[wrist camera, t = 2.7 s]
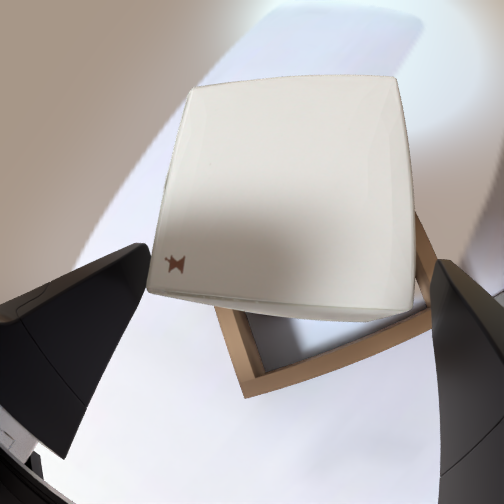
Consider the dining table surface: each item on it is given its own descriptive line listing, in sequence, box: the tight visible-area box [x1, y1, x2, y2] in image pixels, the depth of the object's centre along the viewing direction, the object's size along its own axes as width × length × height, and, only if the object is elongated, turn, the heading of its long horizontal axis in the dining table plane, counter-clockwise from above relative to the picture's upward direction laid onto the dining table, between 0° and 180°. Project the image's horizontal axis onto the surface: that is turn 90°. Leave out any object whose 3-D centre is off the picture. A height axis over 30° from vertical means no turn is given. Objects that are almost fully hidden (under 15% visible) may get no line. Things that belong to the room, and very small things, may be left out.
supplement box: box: [146, 75, 416, 322], centre depth 14 cm, size 7×7×13 cm
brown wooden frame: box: [214, 212, 438, 399], centre depth 19 cm, size 13×13×2 cm
